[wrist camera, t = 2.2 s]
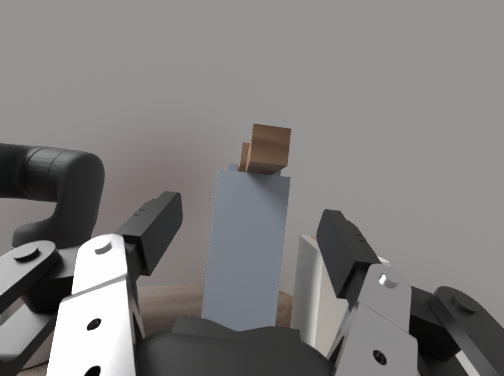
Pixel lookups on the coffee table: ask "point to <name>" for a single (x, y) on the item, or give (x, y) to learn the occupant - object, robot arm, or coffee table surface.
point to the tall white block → (316, 298)
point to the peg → (266, 150)
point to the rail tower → (245, 249)
